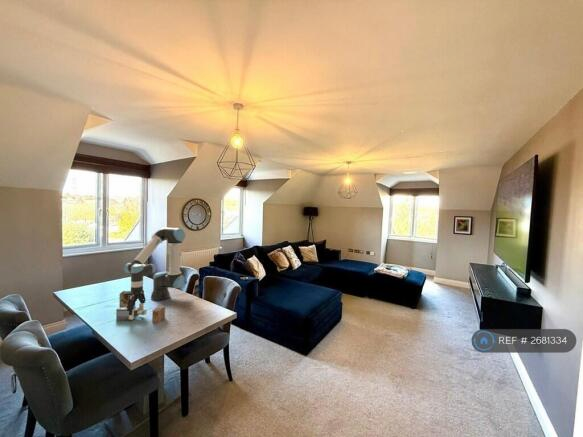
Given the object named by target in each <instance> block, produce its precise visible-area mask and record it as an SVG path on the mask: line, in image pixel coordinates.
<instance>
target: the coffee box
mask: <svg viewBox="0 0 583 437" xmlns="http://www.w3.org/2000/svg"><path fill="white" fill-rule="evenodd" d="M132 294H133V293H132V292H131V290H123V291H121V292H120V293H119V307H121V306H128V302H129V296H132ZM134 306H136V304H135V305H134Z"/></svg>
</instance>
